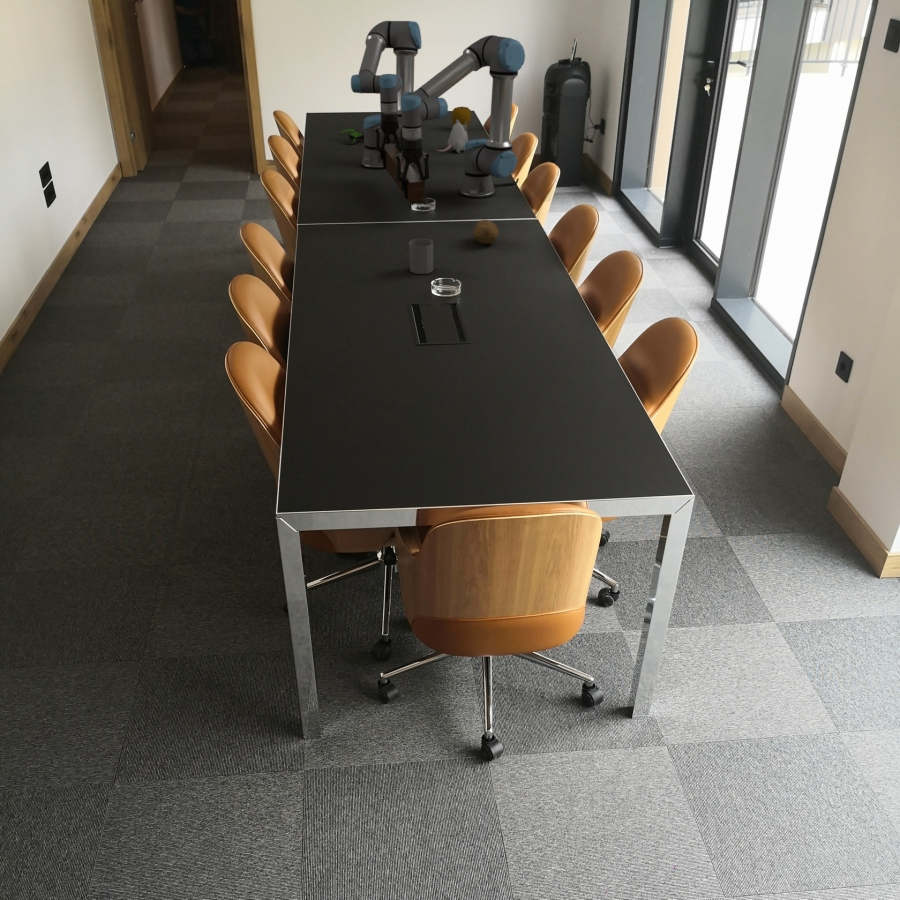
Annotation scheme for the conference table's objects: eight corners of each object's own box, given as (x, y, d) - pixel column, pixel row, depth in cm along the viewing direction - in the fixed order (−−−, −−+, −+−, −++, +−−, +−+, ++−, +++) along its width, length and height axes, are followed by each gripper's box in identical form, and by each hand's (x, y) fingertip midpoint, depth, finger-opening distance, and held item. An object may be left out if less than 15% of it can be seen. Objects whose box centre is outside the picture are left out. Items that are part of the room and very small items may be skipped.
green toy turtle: (394, 125, 469) (339, 123, 467) (394, 140, 462) (338, 138, 460) (394, 135, 474) (339, 133, 472) (394, 150, 467) (338, 148, 464)
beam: (382, 163, 399) (381, 144, 395) (394, 163, 400) (393, 143, 396) (410, 204, 346) (409, 182, 342) (423, 203, 347) (423, 181, 343)
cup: (409, 265, 311) (408, 238, 306) (432, 265, 312) (431, 238, 307) (410, 274, 304) (409, 246, 299) (433, 273, 305) (433, 246, 299)
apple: (471, 132, 486) (471, 108, 479) (451, 132, 486) (451, 108, 479) (470, 128, 495) (471, 104, 488) (452, 128, 495) (452, 104, 488)
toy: (473, 150, 452) (473, 120, 444) (442, 158, 438) (441, 127, 430) (460, 147, 458) (460, 117, 449) (429, 155, 443) (428, 125, 435)
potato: (495, 236, 338) (496, 216, 334) (500, 248, 327) (500, 227, 322) (471, 236, 338) (471, 216, 334) (474, 249, 326) (474, 228, 322)
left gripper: (369, 115, 376) (372, 169, 389) (411, 113, 380) (412, 167, 393) (366, 111, 382) (369, 165, 395) (408, 109, 386) (409, 162, 399)
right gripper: (390, 141, 335) (392, 201, 348) (437, 139, 339) (437, 198, 351) (387, 137, 341) (389, 196, 354) (432, 134, 345) (433, 193, 357)
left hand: (391, 166), depth 394 cm, fingers closed on beam, 6 cm apart
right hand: (413, 197), depth 352 cm, fingers closed on beam, 5 cm apart
